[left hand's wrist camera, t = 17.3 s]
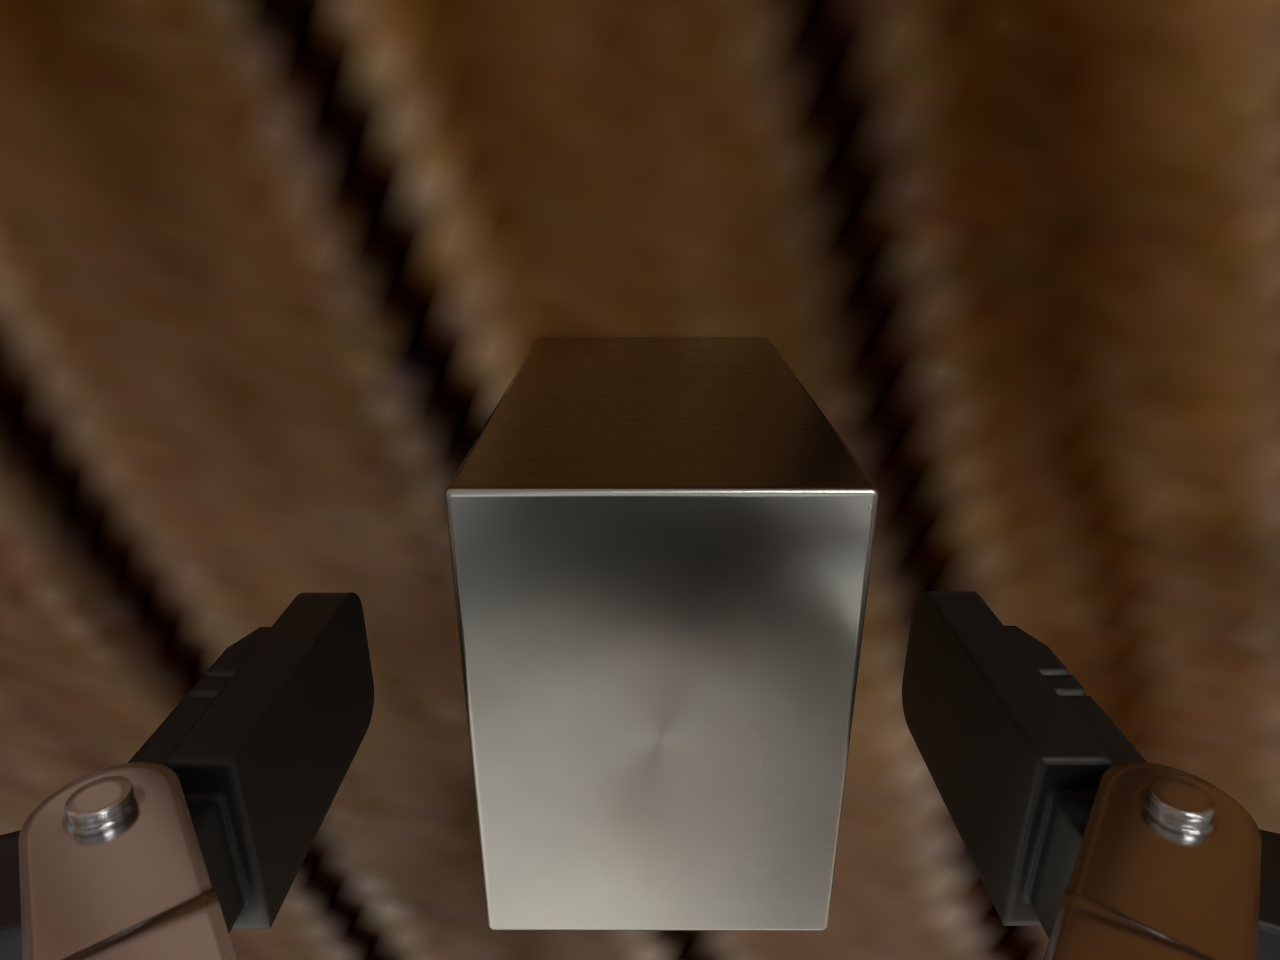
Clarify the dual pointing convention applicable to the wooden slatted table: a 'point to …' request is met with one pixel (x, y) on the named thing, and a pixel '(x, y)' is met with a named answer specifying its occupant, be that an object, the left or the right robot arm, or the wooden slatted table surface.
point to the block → (659, 637)
